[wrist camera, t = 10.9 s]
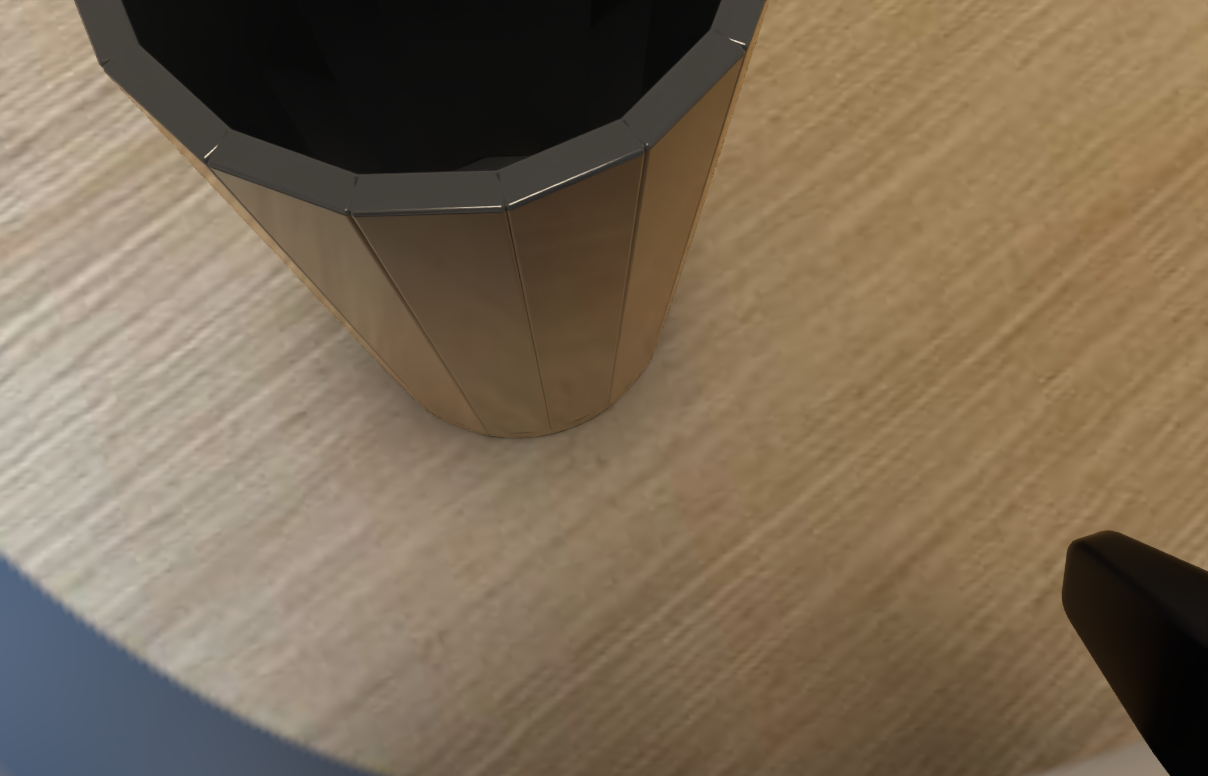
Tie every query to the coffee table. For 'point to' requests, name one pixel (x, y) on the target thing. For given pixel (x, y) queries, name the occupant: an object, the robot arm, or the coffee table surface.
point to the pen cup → (457, 171)
